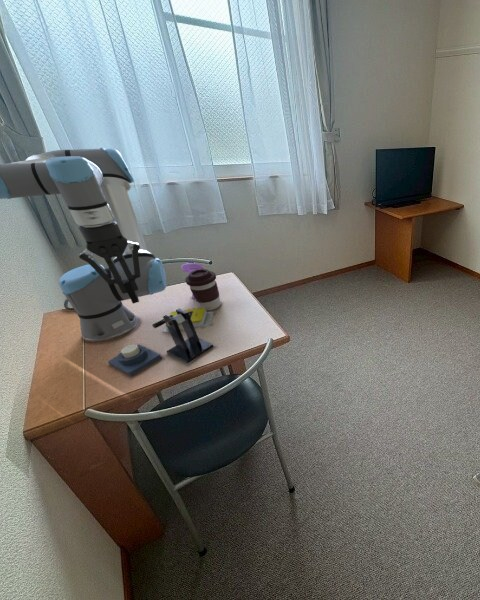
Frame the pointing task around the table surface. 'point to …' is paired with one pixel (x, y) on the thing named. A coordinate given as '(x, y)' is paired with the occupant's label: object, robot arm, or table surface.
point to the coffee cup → (204, 288)
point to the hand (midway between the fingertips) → (135, 300)
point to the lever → (178, 317)
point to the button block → (135, 361)
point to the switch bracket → (185, 348)
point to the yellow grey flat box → (195, 318)
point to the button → (130, 351)
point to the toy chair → (191, 268)
